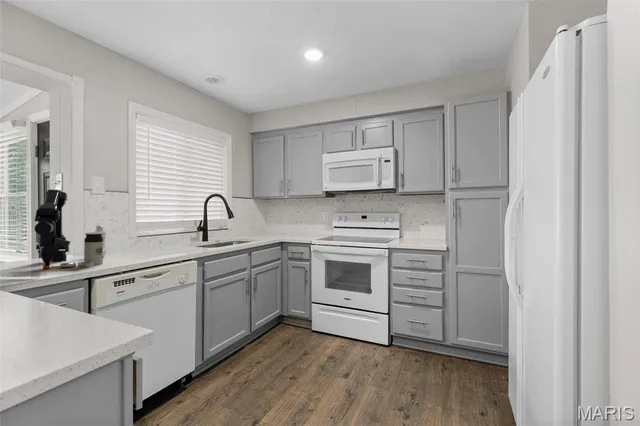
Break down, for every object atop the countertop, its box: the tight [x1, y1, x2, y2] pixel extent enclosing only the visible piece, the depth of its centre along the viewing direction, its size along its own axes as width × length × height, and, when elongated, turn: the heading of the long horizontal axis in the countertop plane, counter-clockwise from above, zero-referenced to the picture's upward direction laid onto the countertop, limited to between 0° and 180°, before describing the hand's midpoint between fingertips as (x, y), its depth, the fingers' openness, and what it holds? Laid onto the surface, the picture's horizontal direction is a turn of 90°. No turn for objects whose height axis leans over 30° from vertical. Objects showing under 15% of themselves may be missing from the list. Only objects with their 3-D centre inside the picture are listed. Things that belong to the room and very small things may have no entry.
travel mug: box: [83, 231, 104, 266], centre depth 161 cm, size 8×8×18 cm
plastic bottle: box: [94, 225, 107, 258], centre depth 193 cm, size 6×7×20 cm
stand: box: [27, 261, 95, 273], centre depth 148 cm, size 21×14×3 cm, turn 99°
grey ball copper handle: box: [42, 261, 77, 269], centre depth 149 cm, size 12×6×6 cm, turn 137°
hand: (46, 265), depth 146 cm, fingers closed on grey ball copper handle, 3 cm apart
